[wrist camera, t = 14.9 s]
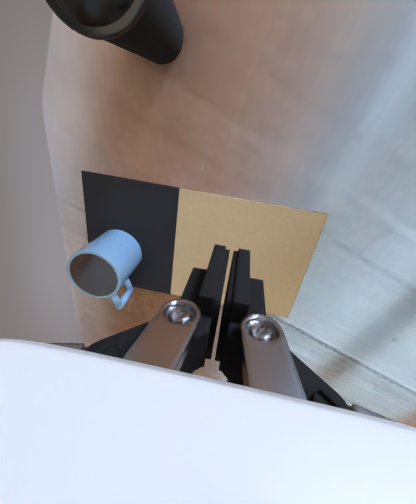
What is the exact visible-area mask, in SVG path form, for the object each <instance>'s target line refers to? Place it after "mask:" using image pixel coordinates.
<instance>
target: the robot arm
mask: <svg viewBox="0 0 416 504" xmlns="http://www.w3.org/2000/svg"><path fill="white" fill-rule="evenodd" d="M229 253H230V250H228V249H226V246H222V245H217V244H215V245H214V249H213V252H212V255H211V258H210V261H209V265H208V268H207V270H206V269H201V268H195V267H194V268H193V269H192V272H191V274H190V277H189V279H188V281H187V284H186V286H185V289H184V291H183V293H182V296H181V298H180V299H174V300H170V301H168V302H166V303H165V304H164V305H163V306H162V307H161V308H160V309H159V311H158V312H157V313H156V315H155V316H154V317H153V318H152V320H151V321H150V322H147V323H144V324H142V325H139V326H136V327H134V328H131V329H129V330H126V331H123V332H121V333H118V334H115V335H113V336H110V337H108V338H105V339H102V340H100V341H98V342H96V343H94V344H92V345H91V346H89V347H84V343H41V342H35V341H28V340H18V339H0V504H416V427H412V426H408V425H405V424H402V423H398V422H396V421H394V420H391V419H389V418H386V417H384V416H382V415H379V414H377V413H375V412H372V411H370V410H368V409H365V408H363V407H361V406H358V405H356V404H354V403H353V405H352V406H349V405H347V404H346V402H345V401H344V400H343V399H342V398H341V396H340V395H339V394H338V393H337V392H336V391H334V390H333V389H332V388H331V387H330V386H329V385H328V384H327V383H325V382H324V381H323V380H322V379H321V378H320V377H319V376H318V375H316V374H315V373H314V372H313V371H312V370H311V369H310V368H309V367H307V366H306V365H305V364H304V363H303V362H302V361H301V360H300V359H298V358H297V357H296V356H295V355H294V354H293V353H292V352H291V351H290V349H289V346H288V343H287V340H286V338H285V335H284V332H283V330H282V328H281V326H280V325H279V324H278V323H277V322H276V321H275V320H273V319H272V318H270V317H268V316H266V309H265V297H264V284H263V280H260V279H255V278H250V250H245V249H238V251H234V252H233V257H232V262H231V267H230V273H229V278H228V283H227V289H226V294H225V299H224V305H223V312H222V318H221V325H220V331H219V337H218V344H217V350H216V357H215V360H216V361H220V366H219V370H220V371H222V372H223V374H224V375H225V376H226V377H227V382H225V381H220V380H216V379H211V378H207V377H203V376H198V375H194V374H193V371H195V370H197V369H199V368H200V367H204V363H205V358H207V359H211V355H212V349H213V344H214V338H215V333H216V327H217V321H218V316H219V310H220V305H221V299H222V294H223V288H224V282H225V276H226V270H227V265H228V259H229Z"/></svg>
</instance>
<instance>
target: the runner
mask: <svg viewBox="0 0 416 504" xmlns="http://www.w3.org/2000/svg"><path fill="white" fill-rule="evenodd" d="M81 172H82V182H83V192H84V202H85V212H86V222H87V232H88V242H89V243H90V242H91V241H93V240H94V239H95V238H97V237H98V236H100V235H101V234H102V233H104V232H106V231H108V230H114V229H116V230H122V231H124V232H126V233H128V234H130V235H131V236H132V237H134V238H135V240H136V241H137V242H138V244H139V245H140V248H141V251H142V259H141V262H140V264H139V265H138V266H137V268H136V269H135V270H134V272H133V273H132V274H131V275H130V277H129V280H130V282H131V284H132V286H133V287H138V288H143V289H148V290H153V291H158V292H163V293H168V294H173V295H178V296H182V293H183V291H184V289H185V286H186V284H187V281H188V279H189V277H190V274H191V272H192V269H193V268H194V267H195V268H201V269H206V270H207V268H208V265H209V261H210V258H211V255H212V252H213V249H214V245H215V244H217V245H222V246H226V249H228V250H230V253H229V259H228V265H227V270H226V276H225V282H224V288H223V294H222V299H221V304H223V305H224V299H225V294H226V289H227V283H228V278H229V273H230V267H231V262H232V257H233V252H234V251H238V249H245V250H250V278H255V279H260V280H263V284H264V297H265V309H266V313H268V314H273V315H278V316H283V317H288V316H289V313H290V311H291V308H292V306H293V303H294V300H295V298H296V295H297V293H298V290H299V288H300V285H301V283H302V280H303V277H304V275H305V272H306V270H307V267H308V265H309V262H310V259H311V257H312V254H313V252H314V249H315V247H316V244H317V242H318V239H319V236H320V234H321V231H322V229H323V226H324V224H325V221H326V219H327V216H328V214H325V213H319V212H313V211H307V210H302V209H296V208H290V207H285V206H279V205H273V204H268V203H262V202H256V201H250V200H245V199H239V198H233V197H228V196H222V195H216V194H210V193H205V192H199V191H193V190H188V189H182V188H176V187H171V186H165V185H159V184H153V183H148V182H142V181H136V180H131V179H125V178H119V177H114V176H108V175H102V174H96V173H91V172H85V171H81ZM123 285H124V284H123Z"/></svg>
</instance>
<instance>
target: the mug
mask: <svg viewBox="0 0 416 504" xmlns="http://www.w3.org/2000/svg"><path fill="white" fill-rule="evenodd" d="M141 259H142V251H141V248H140V245H139V244H138V242H137V241H136V240H135V238H134V237H132V236H131V235H130V234H128V233H126V232H124V231H122V230H116V229H114V230H108V231H106V232H104V233H102V234H101V235H100V236H98V237H97V238H95V239H94V240H93V241H91V242H90V243H88V244H87V245H86V246H84V247H83V248H81V249H80V250H79V251H77V252H76V253H74V254H73V255H72V256H71V257H70V259H69V261H68V264H67V271H68V275H69V277H70V279H71V281H72V282H73V284H74V285H75V286H76V287H77V288H78V289H79V290H80V291H82V292H83V293H85V294H87V295H89V296H92V297H95V298H108V297H110V299H111V301H112V303H113V305H114V307H115V308H116V309H117V310H120V309H122V307H123V306H124V305H125V303H126V302H127V300H128V299H129V297H130V296H131V295H132V293H133V292H134V288H133V286H132V284H131V282H130V280H129V277H130V275H131V274H132V273H133V272H134V270H135V269H136V268H137V266H138V265H139V264H140V262H141ZM123 284H124V286H125V288H126V291H125V292H124V294H123V295H122V296H121V298H120V299H119V297H118V295H117V292H118V290H119V289H120V288H121V287H122V285H123Z"/></svg>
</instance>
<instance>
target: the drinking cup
mask: <svg viewBox="0 0 416 504" xmlns="http://www.w3.org/2000/svg"><path fill="white" fill-rule="evenodd" d="M46 2H47V3H48V5H49V6H50V8H51V9H52V10H53V12H54V13H55V14H56V15H57V16H58V17H59V18H60V20H61V21H63V22H64V23H65V24H66V25H67V26H68V27H70V28H71V29H72V30H74V31H76V32H77V33H79V34H81V35H83V36H85V37H88V38H91V39H96V40H105V41H108V42H110V43H112V44H114V45H117V46H119V47H121V48H123V49H126V50H128V51H130V52H132V53H135V54H137V55H139V56H141V57H144V58H146V59H148V60H150V61H153V62H155V63H158V64H167V63H170V62H172V61H173V60H174V59H175V58H176V57H177V56H178V54H179V53H180V50H181V48H182V44H183V29H182V25H181V22H180V19H179V16H178V13H177V10H176V7H175V4H174V1H173V0H46Z"/></svg>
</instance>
